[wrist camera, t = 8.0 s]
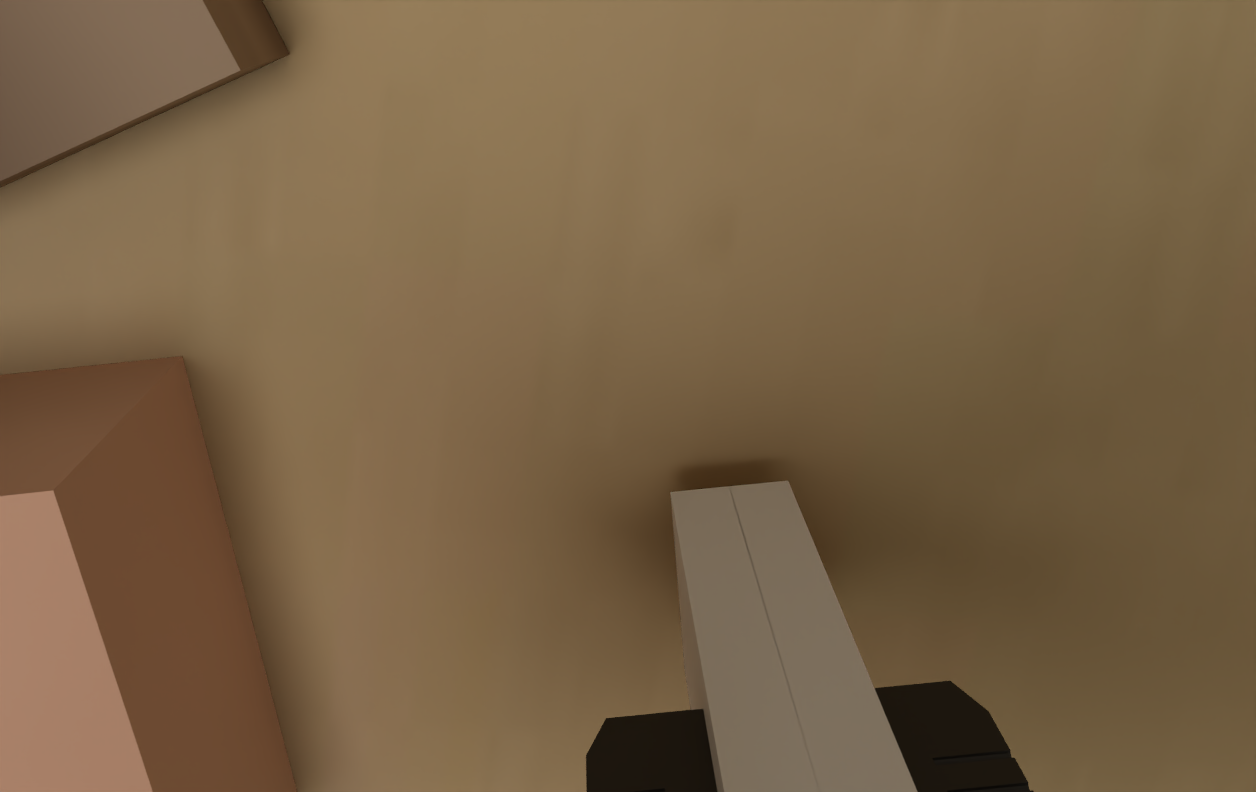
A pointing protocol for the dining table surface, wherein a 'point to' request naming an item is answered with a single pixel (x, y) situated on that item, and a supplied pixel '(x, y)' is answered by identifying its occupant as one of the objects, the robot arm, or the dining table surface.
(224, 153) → the dining table surface
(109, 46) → the shelf
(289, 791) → the pink foam brick
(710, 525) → the robot arm
